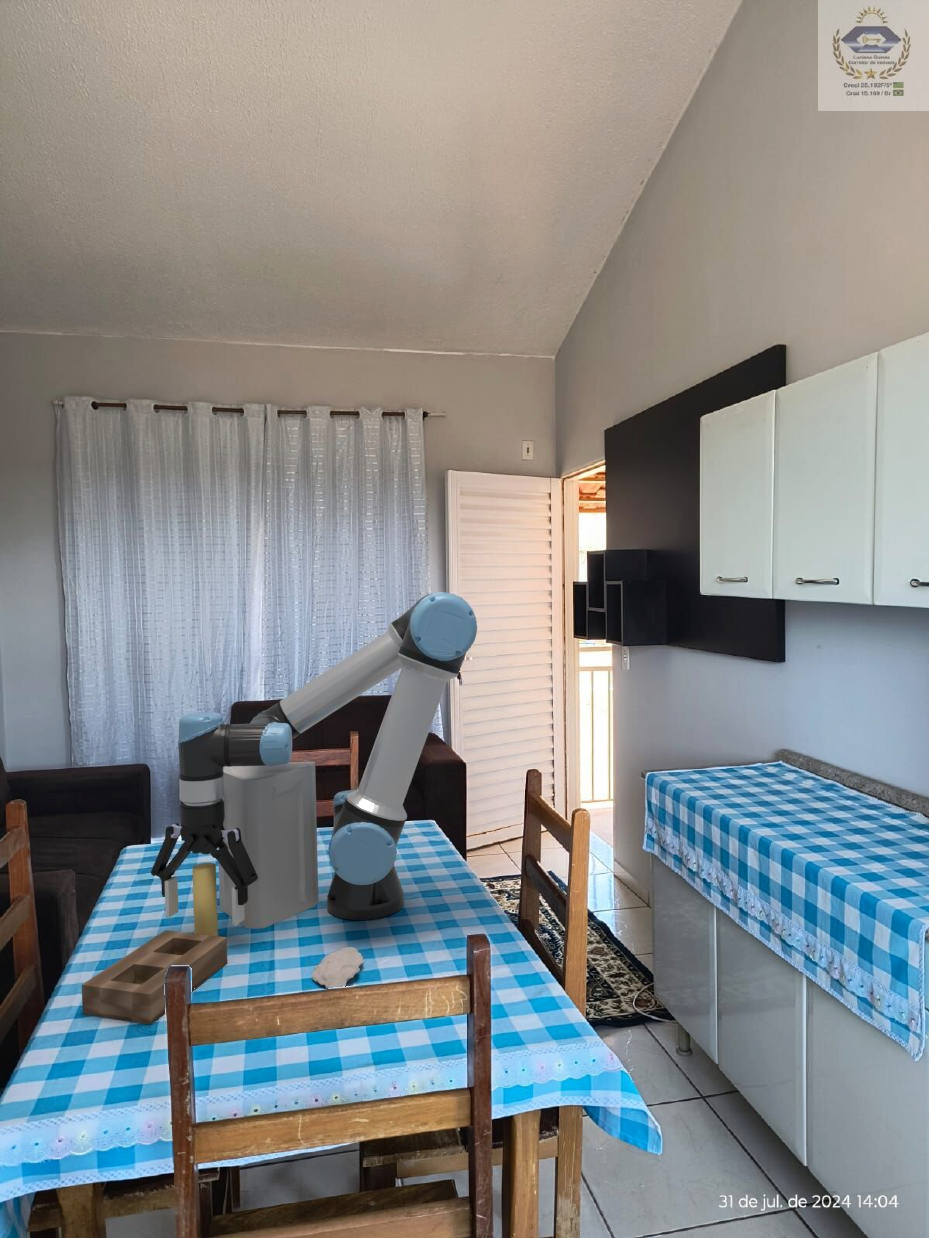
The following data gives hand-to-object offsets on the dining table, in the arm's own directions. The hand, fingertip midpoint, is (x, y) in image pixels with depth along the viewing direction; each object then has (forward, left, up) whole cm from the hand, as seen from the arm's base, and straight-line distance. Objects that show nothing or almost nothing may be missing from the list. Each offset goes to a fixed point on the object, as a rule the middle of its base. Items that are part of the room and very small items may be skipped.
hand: (204, 918), depth 146 cm
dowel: (0, 0, -5) cm, 5 cm away
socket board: (-2, +16, -5) cm, 17 cm away
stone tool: (-28, +5, -5) cm, 29 cm away
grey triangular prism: (-3, -15, -5) cm, 16 cm away
